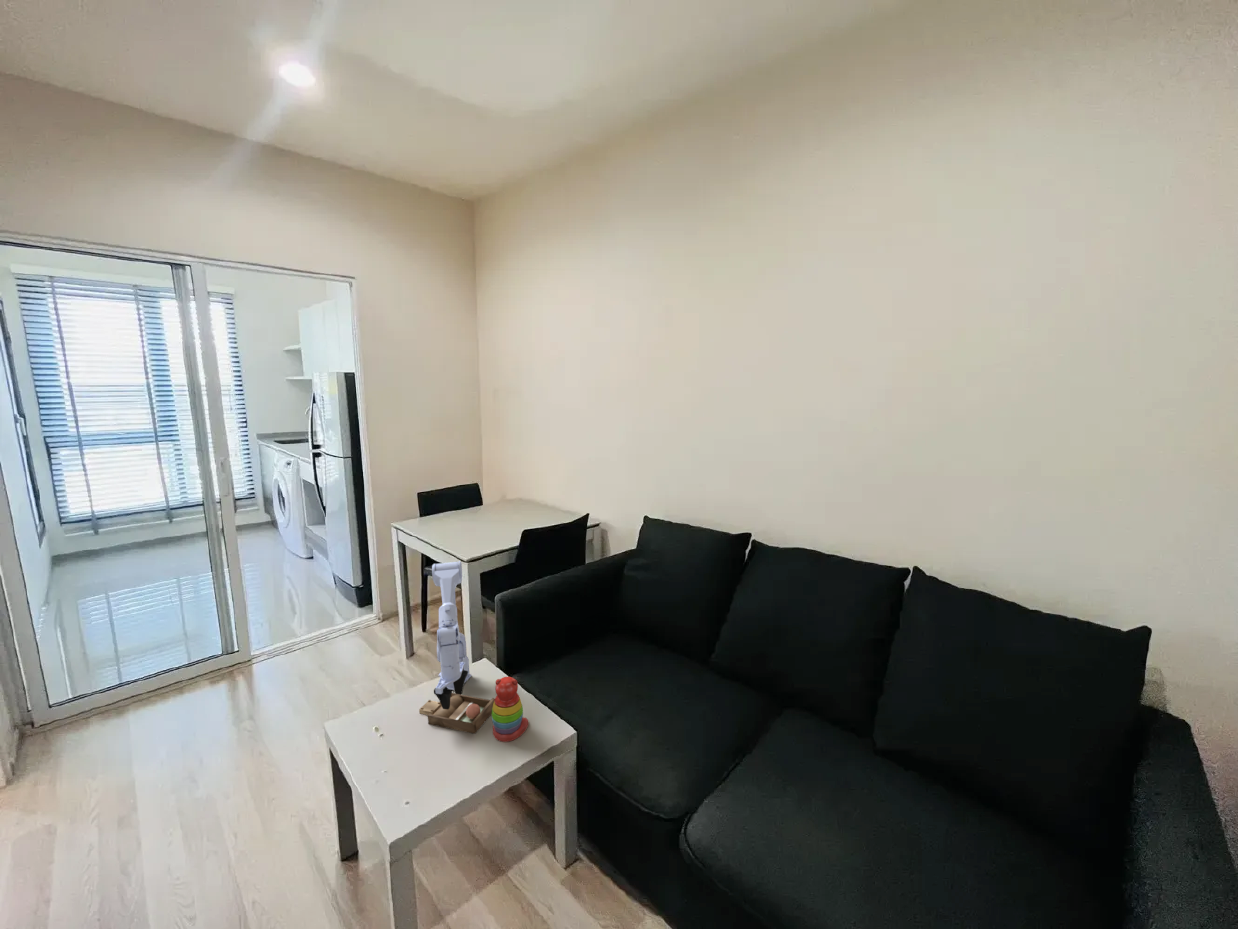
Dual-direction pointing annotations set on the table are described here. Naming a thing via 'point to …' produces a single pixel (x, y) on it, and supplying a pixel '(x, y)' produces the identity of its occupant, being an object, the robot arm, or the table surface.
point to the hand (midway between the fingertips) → (452, 700)
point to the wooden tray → (462, 714)
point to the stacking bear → (508, 711)
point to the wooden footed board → (430, 707)
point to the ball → (472, 711)
